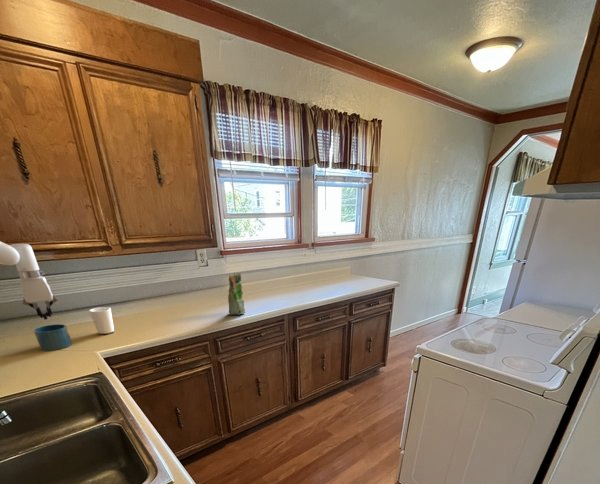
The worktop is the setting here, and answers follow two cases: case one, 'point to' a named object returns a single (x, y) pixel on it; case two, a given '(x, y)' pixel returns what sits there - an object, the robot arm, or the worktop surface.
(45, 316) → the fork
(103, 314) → the cup
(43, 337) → the crock
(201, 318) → the worktop surface
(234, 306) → the pouch
